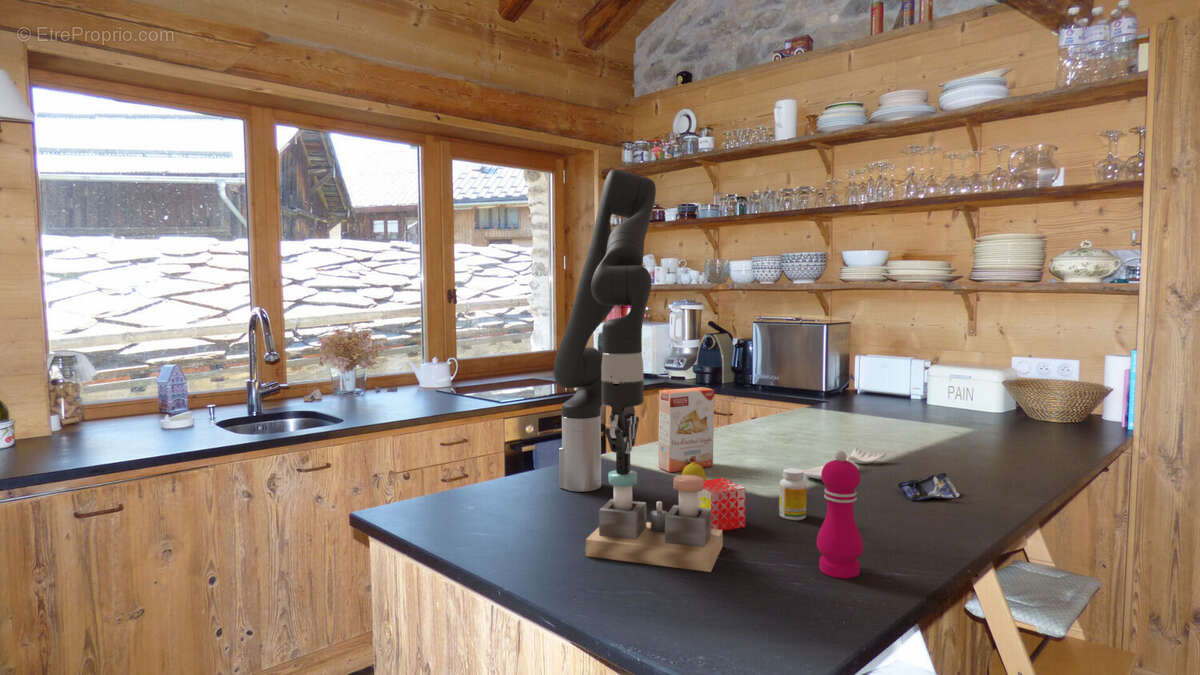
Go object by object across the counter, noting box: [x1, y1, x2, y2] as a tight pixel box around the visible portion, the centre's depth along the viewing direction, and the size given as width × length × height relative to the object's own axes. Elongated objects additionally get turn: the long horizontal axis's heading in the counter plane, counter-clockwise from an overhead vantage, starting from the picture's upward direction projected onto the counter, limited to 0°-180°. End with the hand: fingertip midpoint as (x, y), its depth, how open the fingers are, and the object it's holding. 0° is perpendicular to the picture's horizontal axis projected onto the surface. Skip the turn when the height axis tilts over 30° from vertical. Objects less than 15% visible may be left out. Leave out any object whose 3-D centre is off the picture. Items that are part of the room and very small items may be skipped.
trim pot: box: [650, 500, 669, 532], centre depth 123 cm, size 3×3×5 cm
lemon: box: [681, 462, 707, 481], centre depth 153 cm, size 6×6×8 cm
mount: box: [585, 498, 724, 573], centre depth 121 cm, size 22×12×8 cm, turn 71°
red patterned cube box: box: [698, 477, 746, 531], centre depth 135 cm, size 8×8×8 cm
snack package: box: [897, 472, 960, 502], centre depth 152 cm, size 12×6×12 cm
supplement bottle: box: [778, 467, 808, 521], centre depth 139 cm, size 5×5×10 cm
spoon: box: [802, 447, 888, 481], centre depth 175 cm, size 9×32×4 cm, turn 133°
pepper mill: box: [816, 450, 864, 579], centre depth 111 cm, size 7×7×20 cm
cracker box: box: [658, 386, 715, 473], centre depth 178 cm, size 14×6×21 cm, turn 117°
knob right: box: [672, 474, 703, 518], centre depth 118 cm, size 5×5×7 cm
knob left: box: [607, 469, 638, 511], centre depth 122 cm, size 5×5×7 cm
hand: (623, 473), depth 122 cm, fingers closed
